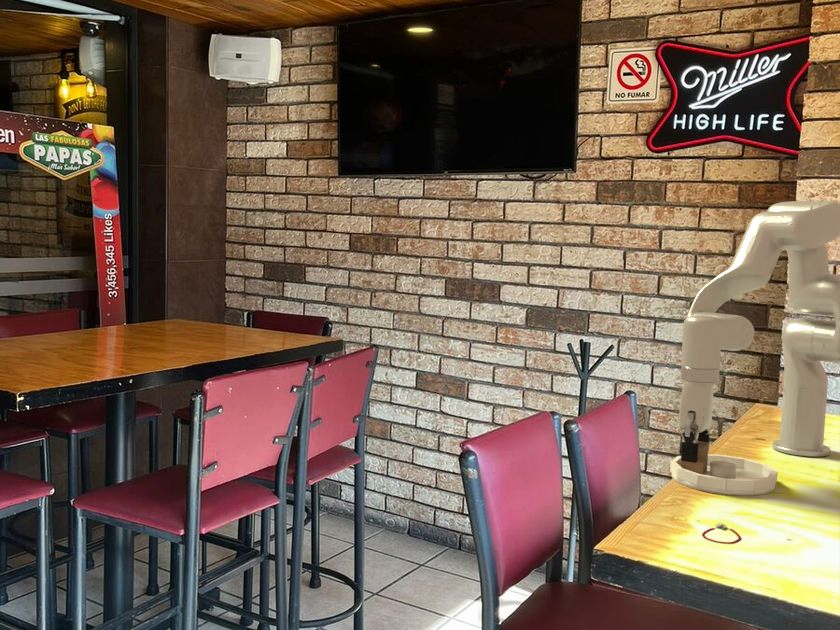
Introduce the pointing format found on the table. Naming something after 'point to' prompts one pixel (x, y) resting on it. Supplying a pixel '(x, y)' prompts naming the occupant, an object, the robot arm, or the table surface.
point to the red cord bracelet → (722, 529)
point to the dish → (738, 486)
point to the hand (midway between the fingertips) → (694, 456)
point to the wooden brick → (702, 461)
